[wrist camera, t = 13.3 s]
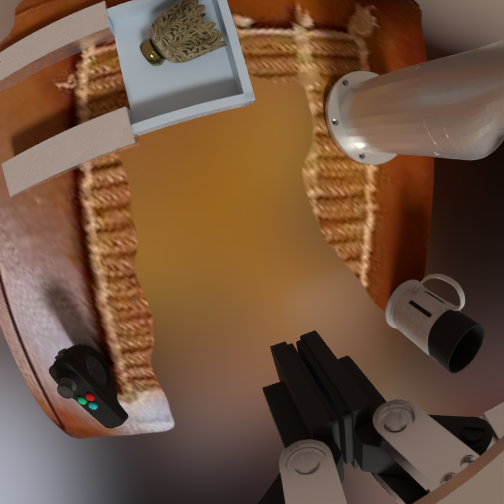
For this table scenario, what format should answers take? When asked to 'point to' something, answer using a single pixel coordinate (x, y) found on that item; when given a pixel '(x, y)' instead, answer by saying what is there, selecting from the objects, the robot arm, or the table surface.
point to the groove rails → (79, 137)
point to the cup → (181, 35)
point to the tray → (178, 69)
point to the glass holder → (435, 323)
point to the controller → (88, 383)
